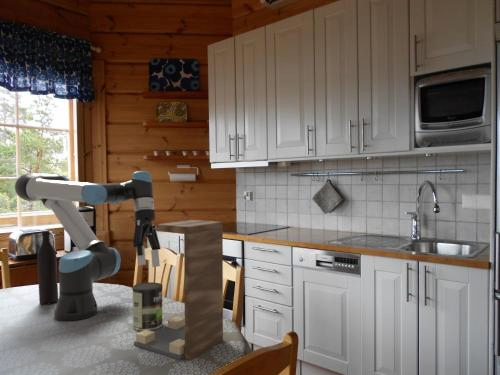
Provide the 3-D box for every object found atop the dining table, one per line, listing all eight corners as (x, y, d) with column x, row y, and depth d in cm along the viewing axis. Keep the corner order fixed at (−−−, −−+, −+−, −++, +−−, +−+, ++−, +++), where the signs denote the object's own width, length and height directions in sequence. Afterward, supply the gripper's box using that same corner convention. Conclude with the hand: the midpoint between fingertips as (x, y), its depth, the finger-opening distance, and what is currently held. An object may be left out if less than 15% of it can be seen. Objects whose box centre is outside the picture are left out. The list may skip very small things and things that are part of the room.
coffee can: (167, 321, 143) (167, 282, 143) (155, 332, 133) (154, 290, 133) (141, 319, 145) (140, 281, 145) (127, 329, 135) (126, 289, 135)
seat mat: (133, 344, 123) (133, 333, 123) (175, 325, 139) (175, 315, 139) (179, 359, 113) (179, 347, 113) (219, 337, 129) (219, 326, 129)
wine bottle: (61, 300, 167) (58, 230, 165) (45, 306, 161) (42, 233, 159) (52, 297, 171) (48, 229, 169) (36, 303, 165) (32, 231, 163)
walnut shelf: (157, 349, 120) (156, 224, 119) (191, 332, 133) (191, 219, 133) (190, 359, 113) (189, 227, 112) (222, 340, 126) (222, 221, 126)
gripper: (140, 202, 140) (145, 262, 135) (165, 214, 164) (170, 265, 159) (120, 206, 141) (124, 265, 136) (148, 217, 165) (152, 268, 160)
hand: (149, 265), depth 147 cm, fingers open, 13 cm apart
